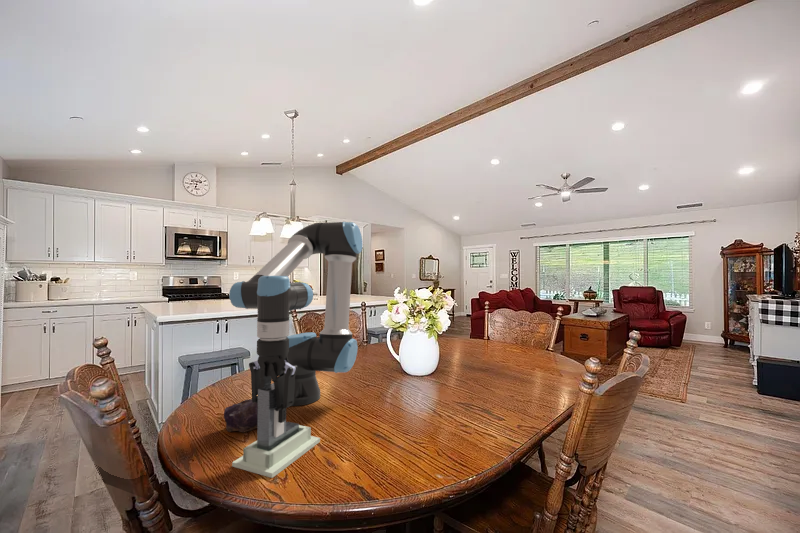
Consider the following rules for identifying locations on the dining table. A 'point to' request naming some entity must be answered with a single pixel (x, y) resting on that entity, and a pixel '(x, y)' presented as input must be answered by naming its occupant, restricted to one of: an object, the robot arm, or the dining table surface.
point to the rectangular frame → (276, 454)
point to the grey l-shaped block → (270, 420)
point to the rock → (241, 416)
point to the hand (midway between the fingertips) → (272, 433)
